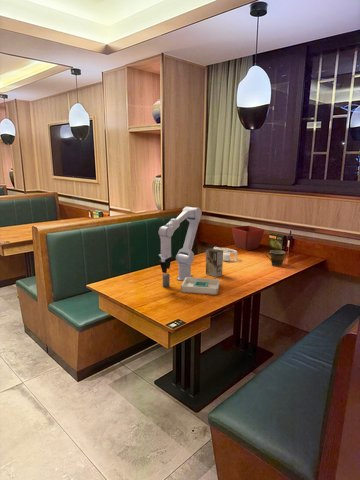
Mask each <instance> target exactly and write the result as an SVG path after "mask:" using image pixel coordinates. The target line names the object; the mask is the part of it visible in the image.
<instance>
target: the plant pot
mask: <svg viewBox="0 0 360 480" xmlns="http://www.w3.org/2000/svg"><path fill="white" fill-rule="evenodd" d="M231 231H232V237H233V241H234V245H235V247H236V248H238V249H241V250H244V251H251V250H257V249H258V248H259V247H260V245H261V241H262V239H263V236H264V233H265V228H262V227H256V226H252V225H240V226H232V227H231Z"/></svg>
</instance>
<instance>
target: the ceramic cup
mask: <svg viewBox="0 0 360 480" xmlns="http://www.w3.org/2000/svg"><path fill="white" fill-rule="evenodd" d="M267 254H268V255H269V256H270V257H269V256H268V255H267ZM265 255H266V257H267V258H268V259H269V260H270V263H271V266H273V267H275V268H276V267H279V268H280V267H282V266H283V265H284V264H283V263H284V260H285V255H286V251H284V250H280V249H272V250H270V251H269V252H268V251H267V252H266V253H265Z"/></svg>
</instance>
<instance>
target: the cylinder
mask: <svg viewBox="0 0 360 480" xmlns="http://www.w3.org/2000/svg"><path fill="white" fill-rule="evenodd" d="M170 277H171V276H170V273H168V272H166V273H162V288H170V286H171V285H170V282H171V281H170Z"/></svg>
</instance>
